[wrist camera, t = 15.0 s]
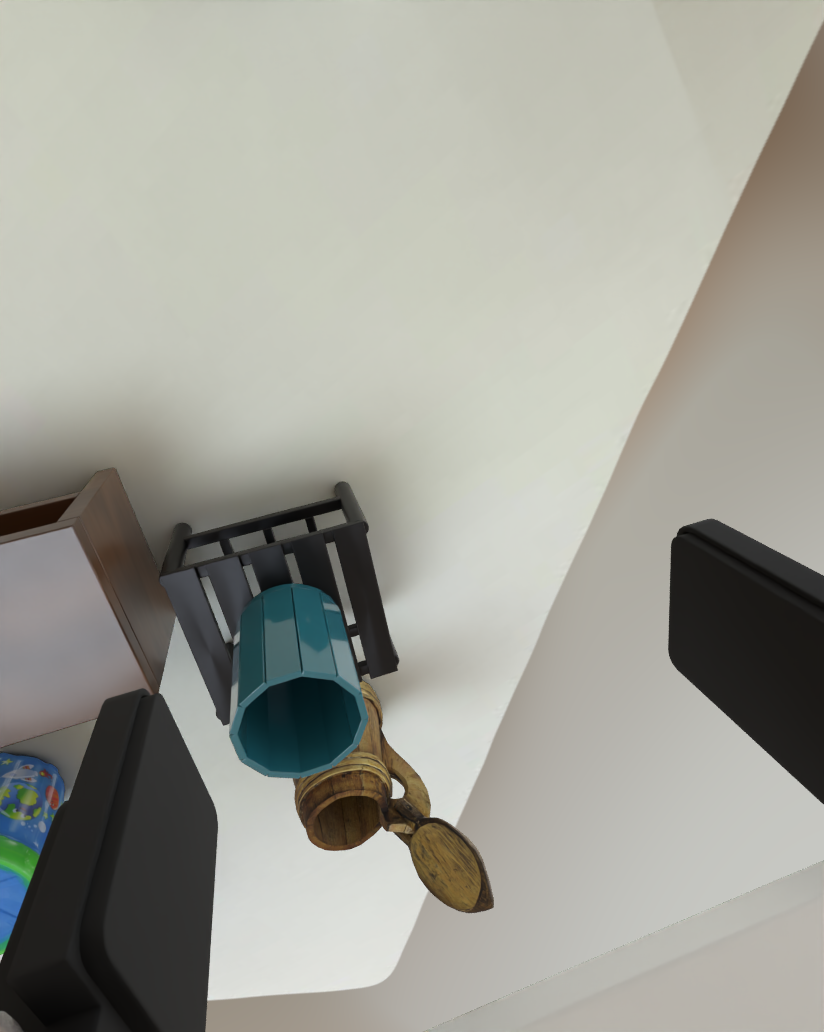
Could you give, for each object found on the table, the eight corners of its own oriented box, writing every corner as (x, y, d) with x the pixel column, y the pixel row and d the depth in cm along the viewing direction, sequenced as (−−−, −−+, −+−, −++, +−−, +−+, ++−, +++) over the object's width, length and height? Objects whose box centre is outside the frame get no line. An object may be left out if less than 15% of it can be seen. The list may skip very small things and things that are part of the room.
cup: (221, 600, 35) (212, 697, 27) (329, 570, 36) (351, 654, 28) (253, 685, 38) (254, 795, 30) (352, 654, 39) (378, 752, 31)
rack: (171, 525, 40) (154, 578, 33) (348, 479, 42) (367, 520, 35) (223, 656, 45) (218, 727, 38) (379, 610, 48) (401, 669, 40)
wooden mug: (410, 755, 55) (476, 953, 39) (268, 753, 50) (276, 976, 34) (435, 679, 52) (517, 858, 36) (287, 670, 47) (305, 871, 31)
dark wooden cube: (-98, 517, 36) (-214, 596, 27) (115, 466, 38) (72, 525, 29) (-7, 664, 41) (-78, 772, 32) (176, 613, 43) (157, 700, 34)
